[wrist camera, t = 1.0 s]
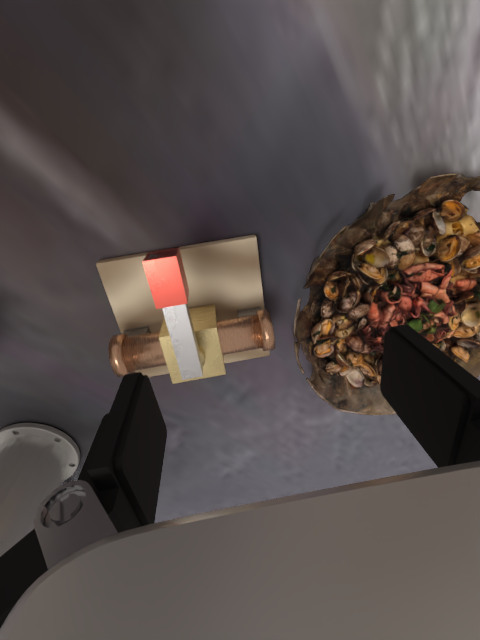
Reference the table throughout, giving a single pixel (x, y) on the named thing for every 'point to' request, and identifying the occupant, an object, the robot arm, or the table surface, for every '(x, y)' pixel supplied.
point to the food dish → (393, 291)
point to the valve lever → (174, 307)
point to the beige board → (203, 282)
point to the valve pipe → (212, 338)
